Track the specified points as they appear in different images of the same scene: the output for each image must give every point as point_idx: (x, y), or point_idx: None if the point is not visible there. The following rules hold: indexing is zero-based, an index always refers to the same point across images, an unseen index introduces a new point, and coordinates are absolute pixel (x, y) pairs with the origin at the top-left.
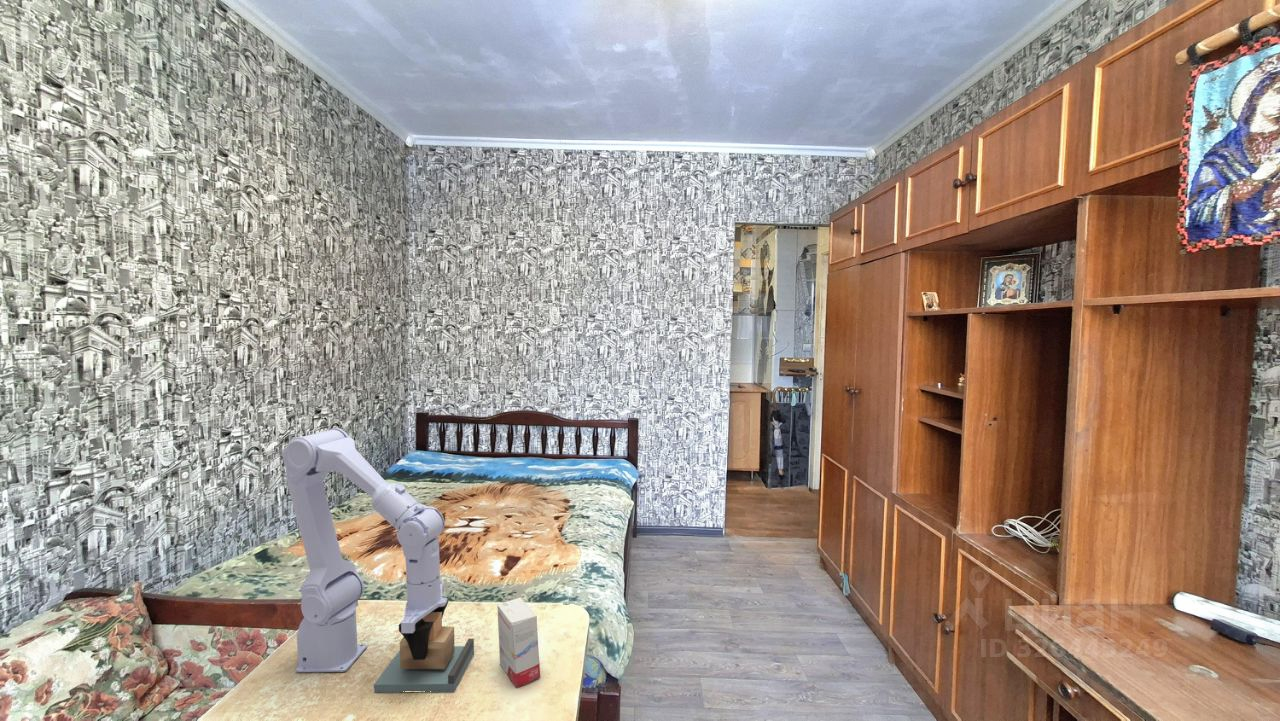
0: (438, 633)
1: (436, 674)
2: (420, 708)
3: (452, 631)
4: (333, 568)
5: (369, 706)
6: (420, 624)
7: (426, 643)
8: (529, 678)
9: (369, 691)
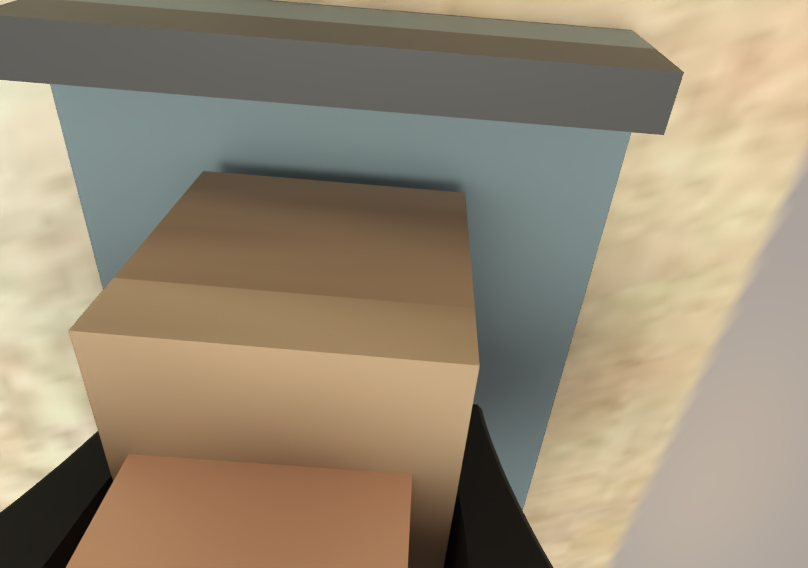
0: (266, 462)
1: (476, 237)
2: (745, 237)
3: (156, 316)
4: None
5: (620, 477)
6: None
7: (522, 537)
8: None
9: None
